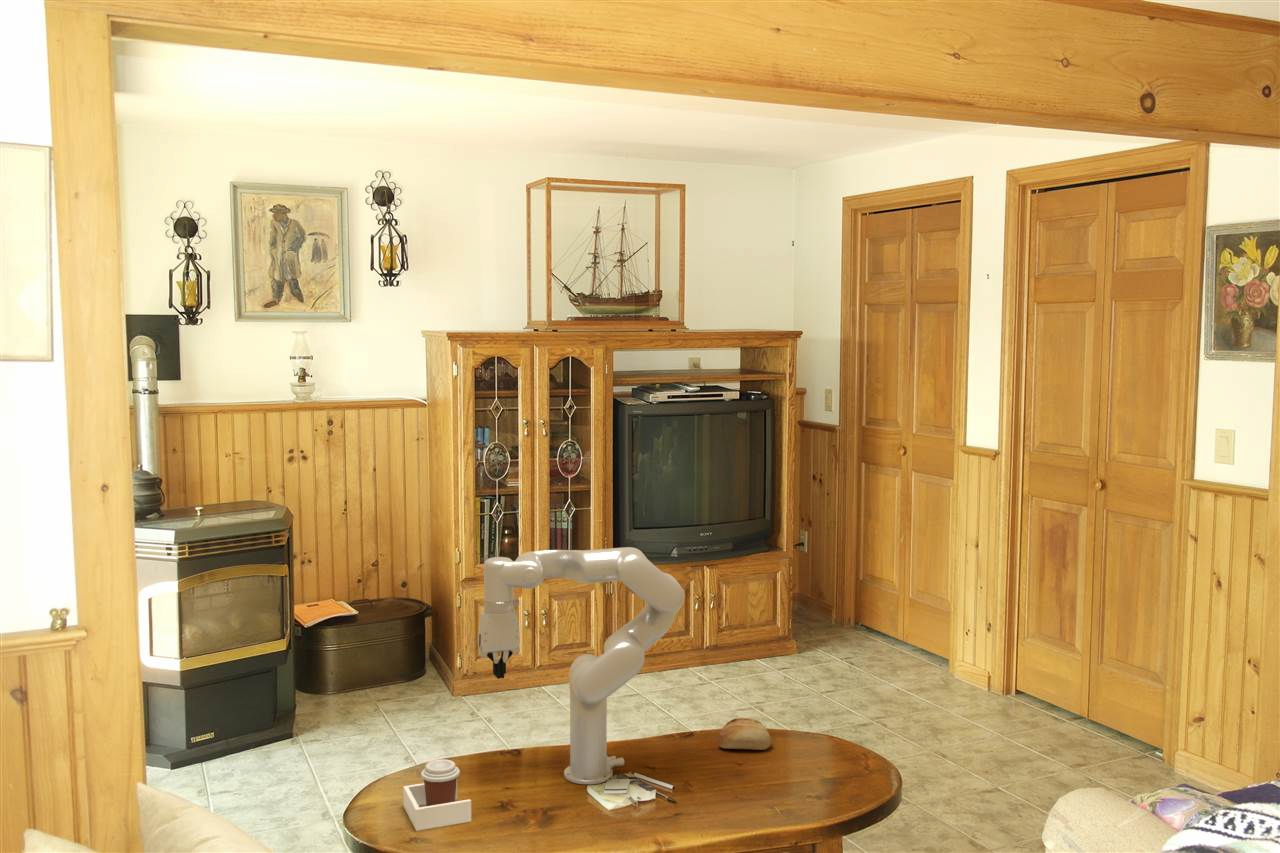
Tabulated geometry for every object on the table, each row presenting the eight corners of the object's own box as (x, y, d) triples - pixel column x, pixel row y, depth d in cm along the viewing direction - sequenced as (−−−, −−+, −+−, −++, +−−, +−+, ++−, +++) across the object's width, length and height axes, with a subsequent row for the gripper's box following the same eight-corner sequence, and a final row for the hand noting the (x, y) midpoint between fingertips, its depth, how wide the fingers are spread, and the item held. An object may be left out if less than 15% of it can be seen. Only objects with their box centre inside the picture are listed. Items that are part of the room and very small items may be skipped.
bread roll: (714, 742, 311) (715, 714, 311) (767, 741, 312) (767, 713, 312) (719, 755, 302) (720, 726, 301) (773, 754, 303) (774, 725, 302)
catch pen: (456, 797, 272) (456, 778, 272) (471, 821, 259) (471, 800, 259) (403, 806, 267) (403, 786, 267) (416, 830, 254) (415, 809, 254)
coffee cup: (442, 825, 257) (441, 775, 256) (413, 815, 262) (412, 766, 261) (468, 811, 265) (467, 762, 264) (439, 802, 270) (439, 754, 269)
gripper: (522, 600, 286) (523, 669, 288) (466, 605, 280) (467, 676, 282) (531, 607, 279) (531, 677, 281) (474, 612, 274) (474, 684, 275)
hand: (499, 676), depth 281 cm, fingers closed
